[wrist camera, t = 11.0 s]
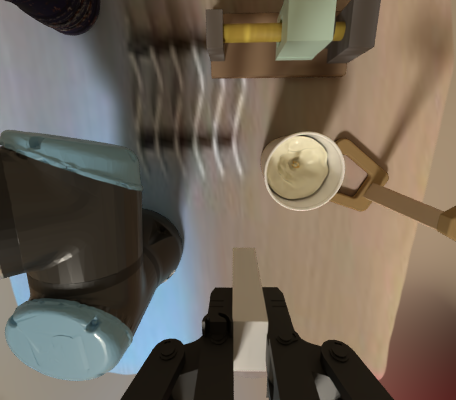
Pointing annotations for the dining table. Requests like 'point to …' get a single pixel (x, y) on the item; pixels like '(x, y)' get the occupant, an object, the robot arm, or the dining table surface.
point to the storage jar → (62, 13)
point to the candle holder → (302, 170)
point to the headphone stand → (391, 195)
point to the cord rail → (267, 55)
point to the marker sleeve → (305, 28)
